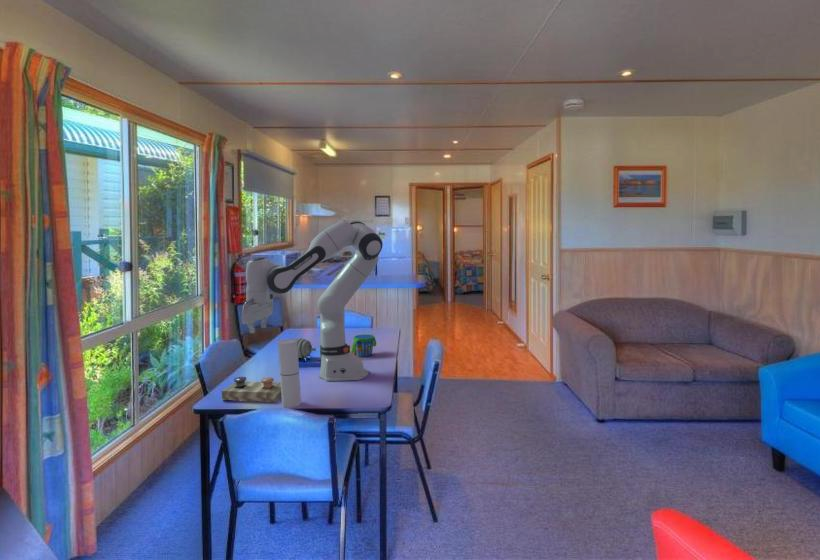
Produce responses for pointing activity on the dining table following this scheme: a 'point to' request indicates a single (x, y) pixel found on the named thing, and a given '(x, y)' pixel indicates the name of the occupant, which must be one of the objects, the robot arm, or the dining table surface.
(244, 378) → the charcoal button
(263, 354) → the dining table surface
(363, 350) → the snack cup
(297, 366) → the cylindrical container
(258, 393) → the button panel
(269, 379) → the terracotta button
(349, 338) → the dining table surface
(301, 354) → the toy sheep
